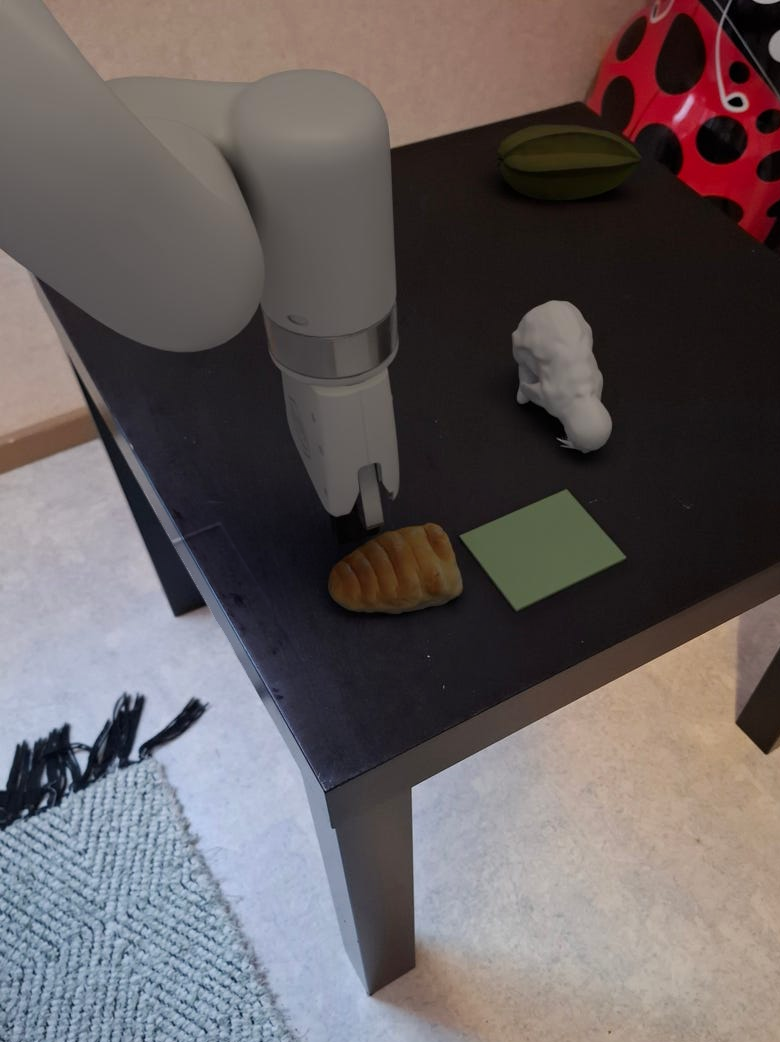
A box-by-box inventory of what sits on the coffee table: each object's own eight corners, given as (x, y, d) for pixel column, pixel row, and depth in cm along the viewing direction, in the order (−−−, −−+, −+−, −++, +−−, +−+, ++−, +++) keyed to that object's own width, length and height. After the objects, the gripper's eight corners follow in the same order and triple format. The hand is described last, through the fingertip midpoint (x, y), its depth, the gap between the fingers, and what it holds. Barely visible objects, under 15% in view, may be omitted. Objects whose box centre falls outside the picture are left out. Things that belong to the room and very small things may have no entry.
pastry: (346, 638, 64) (341, 606, 60) (317, 568, 67) (312, 534, 64) (469, 600, 66) (471, 567, 63) (435, 534, 69) (436, 500, 66)
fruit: (556, 151, 101) (564, 88, 96) (638, 197, 97) (652, 135, 91) (484, 187, 96) (488, 123, 91) (567, 238, 92) (577, 174, 87)
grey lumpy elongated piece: (582, 281, 74) (650, 386, 69) (563, 360, 81) (624, 460, 76) (511, 297, 72) (575, 406, 67) (499, 376, 79) (556, 479, 74)
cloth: (515, 612, 66) (516, 609, 65) (459, 538, 69) (459, 535, 69) (625, 559, 69) (626, 557, 69) (566, 491, 73) (566, 488, 72)
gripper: (231, 261, 54) (277, 476, 70) (308, 425, 47) (340, 625, 62) (351, 236, 56) (369, 450, 72) (442, 390, 49) (441, 592, 64)
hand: (355, 531), depth 67 cm, fingers closed
